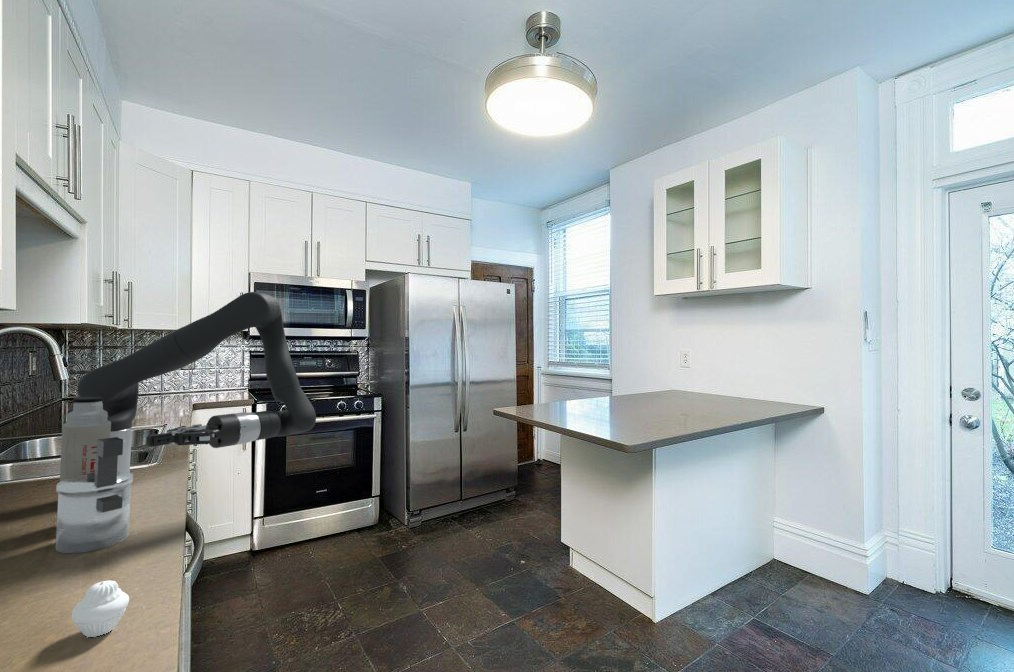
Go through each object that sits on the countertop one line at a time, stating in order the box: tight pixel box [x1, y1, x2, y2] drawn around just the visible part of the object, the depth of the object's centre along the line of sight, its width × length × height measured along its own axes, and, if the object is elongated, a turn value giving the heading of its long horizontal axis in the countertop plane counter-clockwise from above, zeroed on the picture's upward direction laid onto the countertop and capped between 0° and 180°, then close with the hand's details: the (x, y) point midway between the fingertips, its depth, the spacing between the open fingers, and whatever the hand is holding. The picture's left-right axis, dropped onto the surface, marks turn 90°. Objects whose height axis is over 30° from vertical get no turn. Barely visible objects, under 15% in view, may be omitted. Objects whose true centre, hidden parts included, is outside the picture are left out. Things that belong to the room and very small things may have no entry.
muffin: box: [71, 580, 130, 638], centre depth 65 cm, size 6×6×7 cm
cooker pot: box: [55, 483, 132, 554], centre depth 92 cm, size 14×11×11 cm
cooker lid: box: [55, 437, 134, 495], centre depth 93 cm, size 14×12×10 cm
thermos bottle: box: [59, 397, 111, 482], centre depth 101 cm, size 8×8×28 cm
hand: (148, 441), depth 95 cm, fingers closed
